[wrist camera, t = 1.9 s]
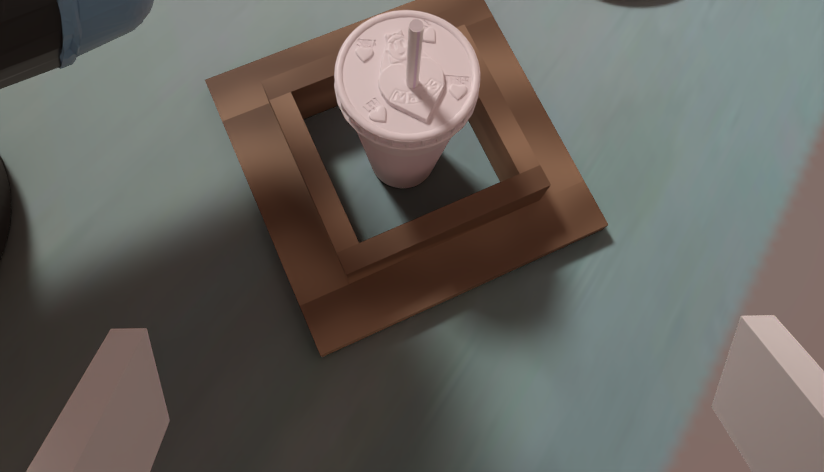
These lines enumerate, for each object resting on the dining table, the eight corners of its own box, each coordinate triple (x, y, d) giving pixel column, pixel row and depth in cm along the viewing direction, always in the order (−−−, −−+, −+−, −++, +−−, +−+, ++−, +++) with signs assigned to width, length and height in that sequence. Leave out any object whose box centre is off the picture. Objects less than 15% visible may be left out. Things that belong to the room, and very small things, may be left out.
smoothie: (366, 225, 36) (353, 114, 22) (332, 124, 37) (300, -38, 24) (473, 191, 36) (525, 63, 23) (436, 93, 38) (463, -81, 24)
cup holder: (209, 88, 37) (191, 56, 34) (470, -11, 40) (477, -50, 36) (322, 357, 34) (315, 351, 30) (602, 229, 36) (624, 211, 33)
